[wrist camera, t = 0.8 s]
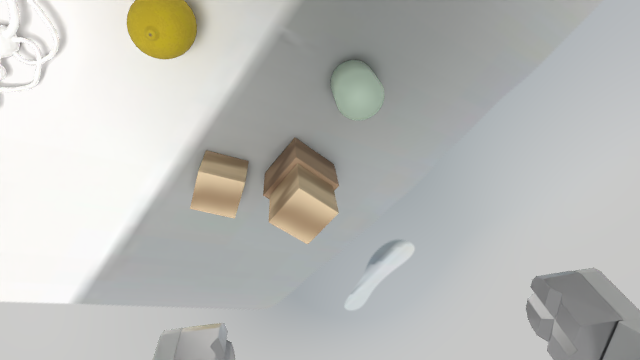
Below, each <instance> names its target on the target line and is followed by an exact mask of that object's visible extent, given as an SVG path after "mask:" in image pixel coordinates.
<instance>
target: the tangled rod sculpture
mask: <svg viewBox="0 0 640 360" xmlns="http://www.w3.org/2000/svg"><path fill="white" fill-rule="evenodd" d="M27 1H28V2H29V3H30V4H31V5H32V6H33V7H34V9H35V10H36V11H37V13H38V14H39V15H40V16H41V18H42V19H43V20H44V22H45V24H46V25H47V27H48V28H49V30H50V31H51V34H52V37H53V40H54V45H53V48H52V50H51V51H50V53H49V54H48V55H47V56H45V57H43V58H42V55H41V52H40V49H39V47H38V46H37V45H36V43H34V42H33V41H31V40H29V39H26V38H22V37H17V35H16V32H17V30H18V28H19V25H20V11H19V8H18V5H17V2H16V0H6V2H7V5H8V8H9V11H10V23H9V25H8V27H6V26H4V25H1V24H0V64H1V58H5V57H11V56H13V55H14V56H15V58H17V59H18V60H20V61H21V62H23V63H25V64H28V65H36V69H35V75H34V79H33V81H32V82H31V83H30V84H29V85H24V86H20V87H0V92H16V91H24V90H28V89H32V88H33V87H35V86H36V85H37V84H38V82H39V79H40V75H41V69H42V64H43V63H45V62H47V61H48V60H50V59H51V58H53V57H54V56H55V54H56V53H57V52H58V49H59V37H58V35H57V32H56V30H55V28H54V26H53V25H52V23H51V21H50V20H49V18H48V17H47V16H46V14H45V13H44V12H43V10H42V9H41V8H40V7H39V5H38V4H37V3H36V2H35V1H34V0H27ZM20 42H23V43H27V44H29V45H31V46H32V48H33V49H34V50H35V55H36V59H37V60H27V59H25V58H23V57H22V56H21V55H19V54H18V52H17V51H18V50H19V47H20ZM6 75H7V74H6V70H5V68H4V67H3V66H2V65H0V81H1V80H3V79H4V78H5V77H6Z"/></svg>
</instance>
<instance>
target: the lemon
mask: <svg viewBox="0 0 640 360" xmlns="http://www.w3.org/2000/svg"><path fill="white" fill-rule="evenodd" d="M127 28H128V32H129V35H130V37H131V39H132V41H133V42H134V44H135V45H136V46H137V47H138V48H139V49H140V50H141V51H142V52H144V53H145V54H147V55H149V56H151V57H154V58H158V59H171V58H176V57H178V56H180V55H182V54H184V53H185V52H186V51H187V50H188V49H190V47H191V46H192V44H193V42H194V40H195V37H196V33H197V24H196V19H195V16H194V14H193V12H192V9H191V8H190V7H189V6H188V4H187V3H186V2H185V1H184V0H135V1H134V3H133V4H132V5H131V7H130V10H129V12H128V15H127Z"/></svg>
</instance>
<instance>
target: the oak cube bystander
mask: <svg viewBox="0 0 640 360" xmlns="http://www.w3.org/2000/svg"><path fill="white" fill-rule="evenodd" d="M247 168H248V161H246V160H242V159H238V158H234V157H231V156H227V155H223V154H219V153H215V152H211V151H207V150H206V152H205V155H204V157H203V160H202V163H201V165H200V168H199V171H198V175H197V180H196V184H195V189H194V193H193V198H192V202H191V207H190V209H194V210H199V211H203V212H208V213H212V214H217V215H221V216H226V217H230V218H235V216H236V212H237V209H238V205H239V202H240V199H241V195H242V192H243V188H244V185H245V181H246V174H247Z"/></svg>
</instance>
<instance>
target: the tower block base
mask: <svg viewBox="0 0 640 360" xmlns="http://www.w3.org/2000/svg"><path fill="white" fill-rule="evenodd" d="M297 163H298V164H300V165H301V166H303V167H304V168H306V169H307V170H309V171H310V172H312V173H313V174H315V175H316V176H318V177H319V178H321V179H322V180H324V181H325V182H327V183H328V184H330V185H331V186H333V189H334V190H335V189H336V188H337V187H338V186H339V184H338V179H337V175H336V171H335V167H334V164H333V163H331V162H330V161H328V160H327V159H325V158H324V157H323V156H321V155H320V154H318V153H317V152H315V151H314V150H312V149H311V148H309V147H308V146H307V145H305V144H304V143H302V142H301V141H299V140H298V139H296V138H294V139H293V140H292V141H291V143H290V144H289V145H288V146H287V147H286V149H285V150H284V151H283V152H282V153H281V155H280V156H279V157H278V158H277V159H276V161H275V162H274V163H273V164H272V165H271V167H270V168H269V169H268V170H267V171H266V173H265V179H264V193H263V196H265V197H267V198H268V199H270V194H271V193H272V192H273V191H274V190H275V188H276V187H277V186H278V185H279V184H280V183H281V182H282V180H283V179H284V178H285V177H286V176H287V175H288V173H289V172H290V171H291V170H292V169H293V168H294V166H295V165H296V164H297Z"/></svg>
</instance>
